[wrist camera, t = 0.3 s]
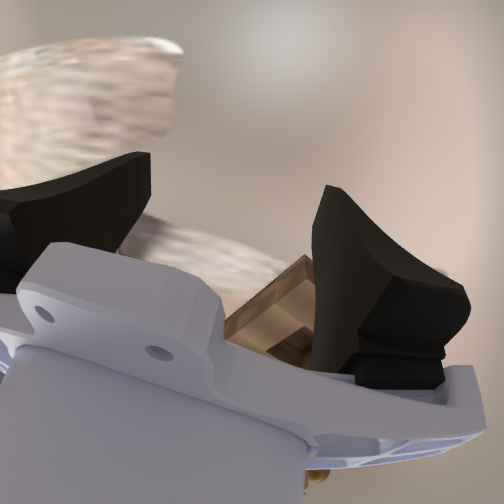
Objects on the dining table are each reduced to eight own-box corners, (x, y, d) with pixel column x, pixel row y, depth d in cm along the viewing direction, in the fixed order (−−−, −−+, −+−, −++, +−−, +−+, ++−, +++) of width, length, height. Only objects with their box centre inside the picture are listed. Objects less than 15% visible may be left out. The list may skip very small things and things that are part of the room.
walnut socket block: (299, 372, 33) (299, 396, 31) (220, 324, 30) (213, 349, 27) (381, 322, 28) (389, 347, 25) (304, 254, 25) (306, 278, 22)
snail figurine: (291, 431, 43) (287, 493, 33) (316, 419, 40) (315, 487, 30) (314, 437, 44) (313, 496, 34) (340, 425, 41) (342, 489, 31)
